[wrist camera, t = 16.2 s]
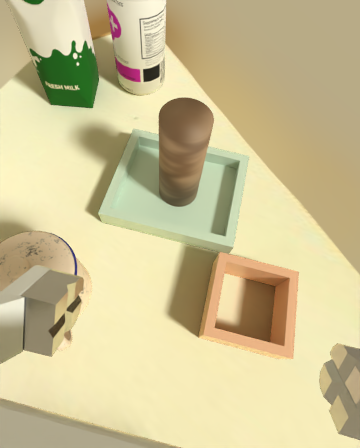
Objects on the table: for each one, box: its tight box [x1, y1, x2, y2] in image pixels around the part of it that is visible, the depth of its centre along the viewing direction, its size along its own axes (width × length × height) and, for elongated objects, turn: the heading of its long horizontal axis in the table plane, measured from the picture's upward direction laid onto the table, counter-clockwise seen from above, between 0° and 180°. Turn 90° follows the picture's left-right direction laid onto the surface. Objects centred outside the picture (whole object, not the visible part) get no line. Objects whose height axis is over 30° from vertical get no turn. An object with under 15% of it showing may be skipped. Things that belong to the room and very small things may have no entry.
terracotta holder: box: [198, 252, 299, 359], centre depth 34 cm, size 10×10×4 cm
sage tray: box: [98, 129, 249, 254], centre depth 41 cm, size 18×15×3 cm
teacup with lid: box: [0, 231, 92, 351], centre depth 29 cm, size 12×9×12 cm
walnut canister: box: [159, 98, 214, 207], centre depth 35 cm, size 6×6×14 cm
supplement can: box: [107, 0, 166, 95], centre depth 45 cm, size 8×8×15 cm
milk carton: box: [5, 0, 99, 108], centre depth 40 cm, size 9×9×20 cm
